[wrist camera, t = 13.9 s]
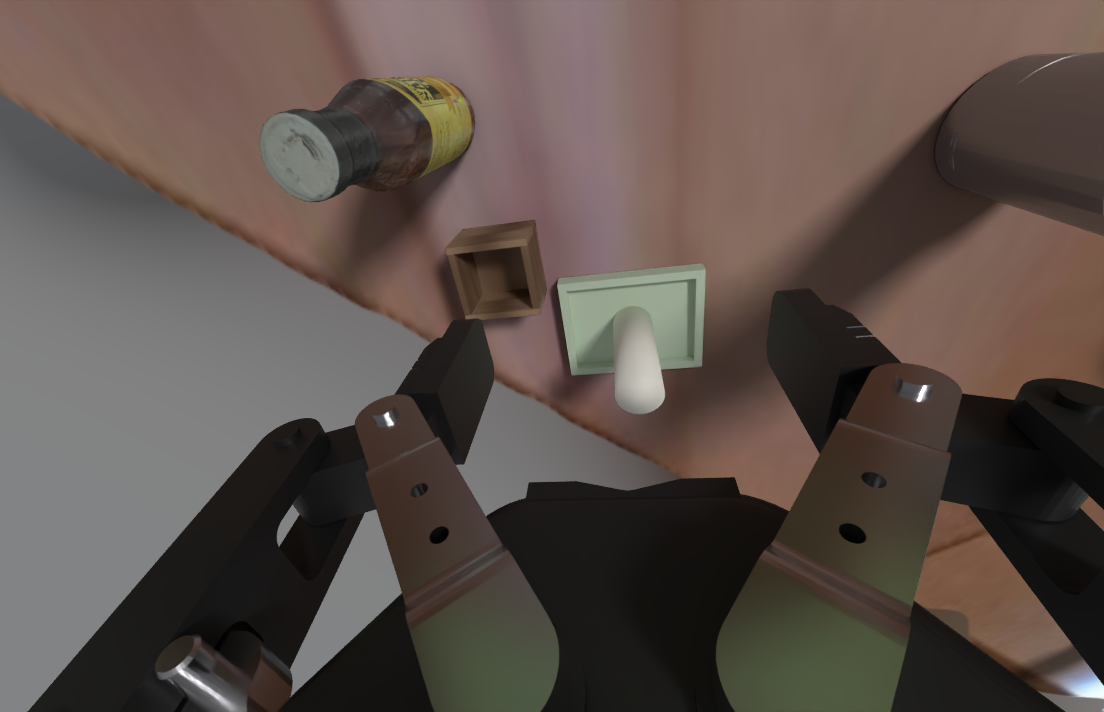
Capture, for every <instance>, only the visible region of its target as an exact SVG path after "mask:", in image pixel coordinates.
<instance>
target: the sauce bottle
mask: <svg viewBox="0 0 1104 712" xmlns="http://www.w3.org/2000/svg"><path fill="white" fill-rule="evenodd" d="M474 129H475V116H474V112H473V108H472V106H471V104H470V102H469V100H468V99H467V97H466V96H465V95H464V93H463V92H462V90H461V89H459V88H458V87H456V86H455V85H453V84H452V83H449V82H447V81H445V80H443V79H441V78H437V77H430V76H428V77H398V78H395V77H393V78H372V79H358V80H354V81H351V82H349V83H347V84H346V85H345V86H343V87H342V89H341V90H340V91H339V92H338V93H337V95H336V96H335V97H334V98H333V100H332V101H331V102H330V103H329V105H328V106H327V107H325V108H323V109H321V110H319V111H310V110H306V109H293V110H289V111H285V112H279V113H277V114H275V115H273V116H271V117H270V118H269V119H268V120H267V121H266V123H265V124H264V125H263V126H262V130H261V134H260V145H259V148H260V152H261V157H262V160H263V162H264V164H265V167H266V169H267V171H268V172H269V174H270V175H271V177H272V178H273V179H274V180H275V181H276V183H277V184H278V185H279V186H280V187H282V188H283V189H284V190H285V191H286V192H287V193H289V194H291V195H292V196H294V197H296V198H298V199H301V200H303V201H307V202H320V201H324V200H327V199H330V198H332V197H334V196H336V195H338V194H340V193H341V192H342V191H344V190H345V189H346V188H347V187H348V186H350V185H358V186H360V187H363V188H366V189H369V190H375V191H387V190H391V189H395V188H398V187H399V186H401V185H403V184H407V183H410V182H413V181H415V180H417V179H419V178H421V177H422V176H424V175H426V174H428V173H430V172H432V171H434V170H436V169H438V168H439V167H441V166H443V165H445V164H447V163H449V162H451V161H452V160H454V159H456V158H457V157H459V156H460V155H461V154H462V153H463V152H464V151H465V149H466V148H467V147H468V146H469V145H470V143H471V142H472V139H473V135H474Z"/></svg>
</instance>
